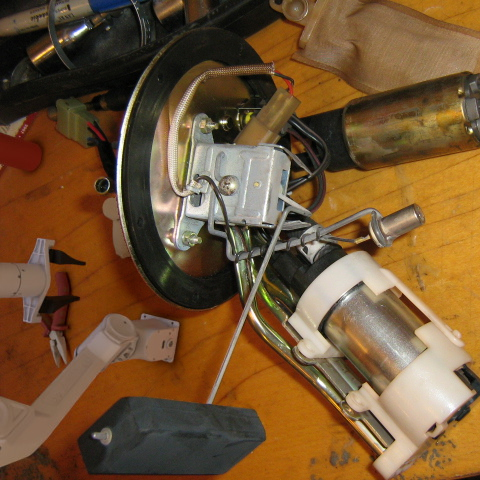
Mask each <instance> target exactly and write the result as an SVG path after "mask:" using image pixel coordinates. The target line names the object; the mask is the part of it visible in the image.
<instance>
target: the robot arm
mask: <svg viewBox="0 0 480 480" xmlns="http://www.w3.org/2000/svg"><path fill="white" fill-rule="evenodd" d="M55 243H56V240H55V239H50V238H40V237H37V239H36V242H35V246H34V249H33V251H32V252H31V254H30V257H29V259H28V261H27V263H26V262H25V263H24V262H23V263H22V262H2V261H1V262H0V299H11V298H13V299H14V298H15V299H16V298H22V304H23V319H22V320H23V322H24V323H28V324H38V323H39V322H41V319H42V317H41V316H39V315H40V313H46V314H47V315H52V314H53V315H54V313H55V312H56V311H57V310H59V309H60V308H62V307H63V306H65V305H67V304H68V305H70V304H72V303H75V302H79V301H80V300H81V296H77V295H73V294H69V295H62V296H57V295H47V294H48V292H49V289H50V286H51V282H52V276H51V275H52V274H51V265H50V264H55V265H59V266H65V265H75V266H82V267H85V266H86V265H87V262H86V261H83V260H79V259H76V258H74V257H72V256H70V255H69V254H67V253H66V252H65V251H63V250H60V249H56V248H52V247H54V246H55ZM39 324H40V323H39ZM180 325H181V324H180V322H179V321H177V320H173V319H169V318H165V317H160V316H157V315H153V314H149V313H141V315H140V319H130V318H129V317H127V316H126V315H124V314H120V313H116V312H115V313H114V312H113V313H107V314H106V315H105V316H104V318H103V319H102V321H101V322H100V323H99V324H98V325H97V327H95V329H94V330H93V331H92V332H90V334H88V336H87V337H86V338H85V339H84V340H83V341H82V342H81V343H80V344H78V345H77V346H76V347H75V349H74V352H73V358H72V360H70V362H69V363H68V364H67V365H66V367H64V368H63V370H62V371H61V372H60V373H59V374H58V375H57V376H56V377H55V378H54V380H52V382H51V383H50V384H49V385H48V386H47V387H46V388H45V389H44V390H43V391H42V392H41V393H40V394H39V396H38V397H37V398H36V399H35V400H34V401H33V402H32V403H31V404H30V405H29V404H25V403H22V402H20V401H16V400H13V399H10V398H7V397H4V396H2V395H0V468H3V467H5V466H7V465H9V464H13V463H15V462H18V461H20V460H23V459H26V458H28V457H29V456H31V455H32V454H34V453H35V452H36V451H37V450H38V449H39V448H40V447H41V446H42V445H43V444H44V443H45V442H46V440H48V438H49V437H50V436H51V435H52V433H53V432H54V431H55V430H56V428H57V427H58V426H59V424H60V423H61V422H62V421H63V419H64V418H65V417H66V415H68V413H70V411H71V409H72V408H73V407H74V405H75V404H76V403H77V402H78V400H79V399H80V398H81V396H82V395H83V394H84V393H85V391H87V389H88V388H89V386H90V385H91V384H92V383H93V381H94V380H95V379H96V378H97V376H98V375H99V374H101V373H102V372H104V371H105V370H106V369H108V367H109V366H110V365H112V364H115V363H120V362H126V361H131V360H143V361H147V362H157V361H163V362H166V363H173V362H174V360H175V355H176V348H177V342H178V336H179V330H180Z"/></svg>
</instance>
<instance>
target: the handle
mask: <svg viewBox="0 0 480 480" xmlns="http://www.w3.org/2000/svg"><path fill="white" fill-rule="evenodd" d="M114 197H115V198H113V197H108V198H106V199H105V200H104V202H103V204H102V213H103V215H104V216H105V217H106V218H108V219H109V220H112V244H113V248H114V250H115V251H114V252H115V255H117V256H119V257H120V259H125V258H128V257H129V258H130V257H131V256H130V254H129V252H128V249H127V246H126V243H125V241H124V237H123V233H122V229H121V225H120V220H119V215H118V208H117V201H116V197H117V196H114Z"/></svg>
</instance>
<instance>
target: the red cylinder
mask: <svg viewBox="0 0 480 480" xmlns="http://www.w3.org/2000/svg"><path fill="white" fill-rule="evenodd" d="M42 151H43V150H42V147H41V146H40V145H39V144H38V143H35V142H32V141H29V140H27V139H22V138H19V137H17V136H13V135H11V134H6V133H3V132H0V165H1V166H5V167H9V168H13V169H18V170H22V171H25V172H34V171H35V170H36V169H38V167H39V166H40V164H41V162H42V158H43V152H42Z"/></svg>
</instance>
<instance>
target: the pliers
mask: <svg viewBox="0 0 480 480" xmlns="http://www.w3.org/2000/svg"><path fill="white" fill-rule="evenodd" d="M54 280H55V283H56V284H55V285H56V289H57V295H56V296H62V295H70V284H69V280H68V276H67V274H66V272H64V271H57V272H55V273H54ZM68 306H69V304H67V305H65V306H63V307H62V308H60V309H59V310H57V311H56V312H55V313H53V316H52V317H53V318H52V319H51V317H50V315H49V314H46V313H40V315H39V316H41V317H42V319H41V322H39V325H41V327H42V328H43V329H44V331H43V332H42V333H41V335H42V337H43V338H45V339H46V338H47V339H48V338H50V340H49V345H50V350H51V353H52V356H53V359H54V361H55V365H56V369H60V363H61V358H62V360H63V362H64V364H65V365H66V366H68V365H69V363H68V353H67V343H66V338H65V336H63V332H64V331H65V330H68V329H69V325H66V324H65V322H66V316H67V312H68Z"/></svg>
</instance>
